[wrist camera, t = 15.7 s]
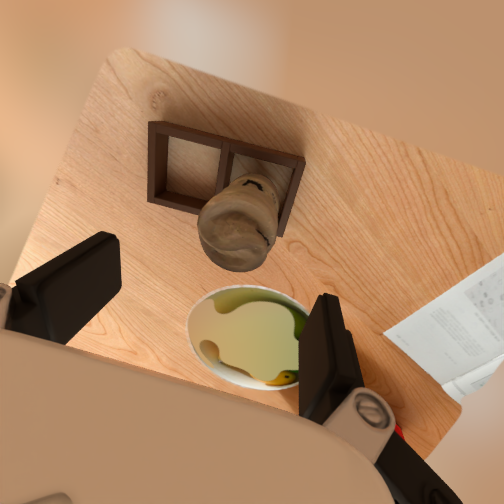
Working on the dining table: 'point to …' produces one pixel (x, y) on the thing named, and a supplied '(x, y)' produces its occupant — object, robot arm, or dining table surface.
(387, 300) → the dining table surface
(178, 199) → the socket block
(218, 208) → the light bulb
